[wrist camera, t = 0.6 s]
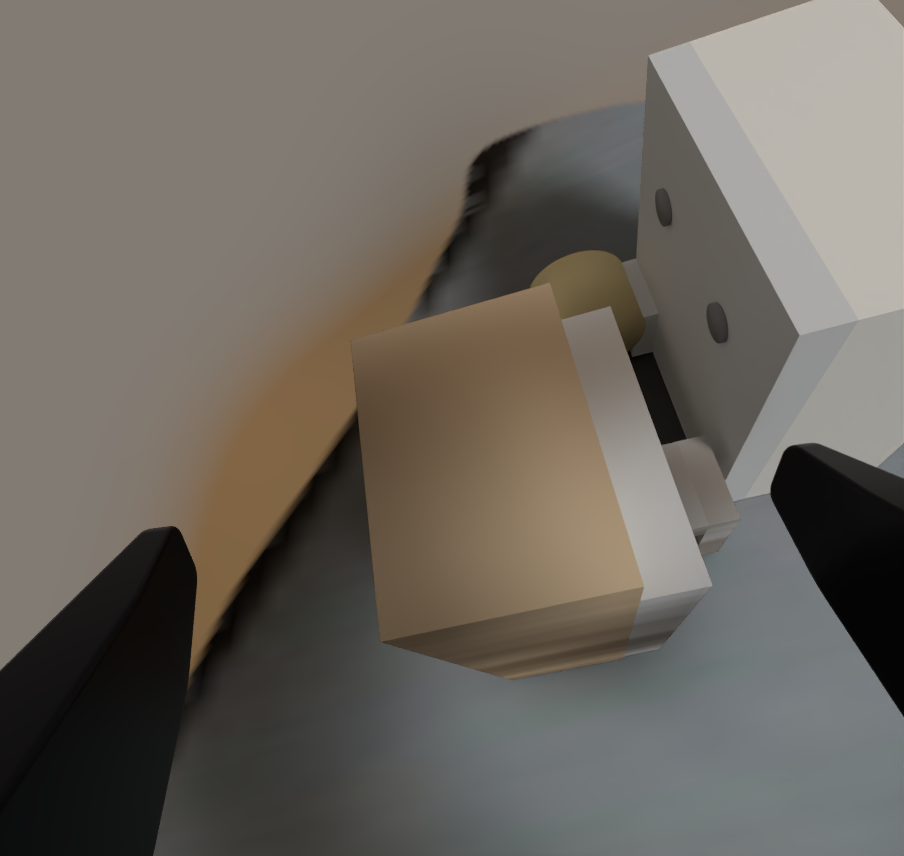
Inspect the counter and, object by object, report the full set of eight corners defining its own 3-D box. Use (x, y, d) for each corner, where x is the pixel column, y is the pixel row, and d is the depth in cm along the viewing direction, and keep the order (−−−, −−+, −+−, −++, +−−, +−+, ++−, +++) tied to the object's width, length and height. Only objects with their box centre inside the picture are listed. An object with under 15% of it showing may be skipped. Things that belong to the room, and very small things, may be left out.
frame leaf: (882, 484, 18) (1134, 276, 9) (595, 547, 20) (584, 416, 11) (763, 266, 22) (863, -17, 14) (534, 329, 24) (490, 108, 15)
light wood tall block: (748, 634, 17) (964, 519, 7) (511, 679, 18) (379, 642, 8) (689, 479, 20) (783, 215, 9) (482, 527, 21) (350, 339, 10)
